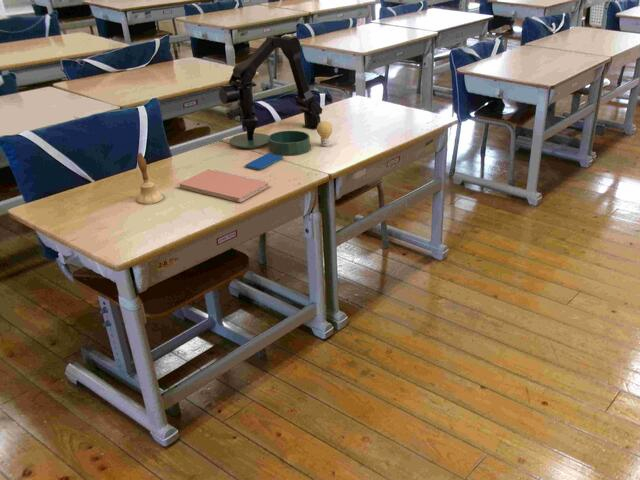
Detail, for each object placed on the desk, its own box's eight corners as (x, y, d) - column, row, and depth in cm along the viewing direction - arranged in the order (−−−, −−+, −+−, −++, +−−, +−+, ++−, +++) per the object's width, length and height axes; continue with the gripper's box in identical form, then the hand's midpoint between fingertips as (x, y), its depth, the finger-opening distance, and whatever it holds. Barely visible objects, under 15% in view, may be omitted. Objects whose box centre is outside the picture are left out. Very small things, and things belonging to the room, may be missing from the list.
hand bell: (148, 206, 208) (138, 159, 200) (132, 200, 212) (121, 154, 203) (168, 197, 214) (159, 152, 206) (152, 192, 218) (142, 147, 209)
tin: (266, 144, 262) (265, 132, 259) (305, 140, 266) (304, 129, 264) (272, 157, 249) (271, 145, 246) (313, 153, 253) (312, 141, 251)
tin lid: (227, 137, 267) (225, 123, 264) (268, 134, 272) (267, 119, 269) (231, 151, 253) (229, 136, 250) (274, 147, 258) (273, 132, 255)
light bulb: (315, 144, 263) (314, 120, 258) (330, 142, 265) (329, 118, 260) (320, 148, 258) (318, 124, 253) (335, 147, 260) (334, 123, 255)
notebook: (271, 186, 224) (270, 180, 223) (240, 203, 211) (239, 197, 210) (211, 172, 234) (210, 167, 233) (178, 188, 221) (177, 182, 220)
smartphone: (244, 165, 239) (268, 152, 250) (244, 167, 239) (269, 154, 250) (259, 168, 236) (283, 155, 247) (260, 171, 236) (284, 158, 248)
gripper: (223, 94, 258) (228, 132, 267) (227, 106, 243) (232, 146, 252) (250, 92, 261) (254, 129, 270) (256, 104, 246) (260, 143, 255)
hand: (250, 137), depth 261 cm, fingers closed on tin lid, 2 cm apart
